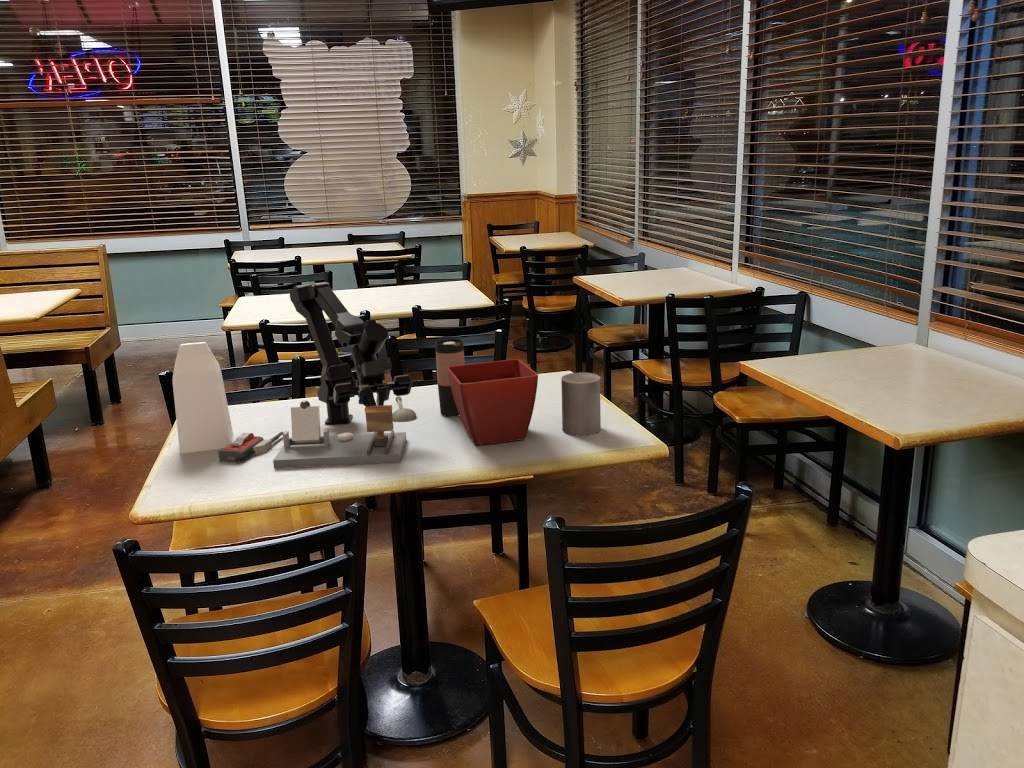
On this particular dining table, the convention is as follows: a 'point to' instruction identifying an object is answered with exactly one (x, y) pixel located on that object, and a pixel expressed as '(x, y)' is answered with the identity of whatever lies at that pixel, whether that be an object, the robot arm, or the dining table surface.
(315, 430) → the light grey piece
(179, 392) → the milk
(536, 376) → the plant pot
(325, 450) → the control panel
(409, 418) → the soupspoon
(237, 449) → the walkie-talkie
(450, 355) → the travel mug
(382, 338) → the robot arm
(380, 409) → the walnut slider lever
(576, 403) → the pillar candle
